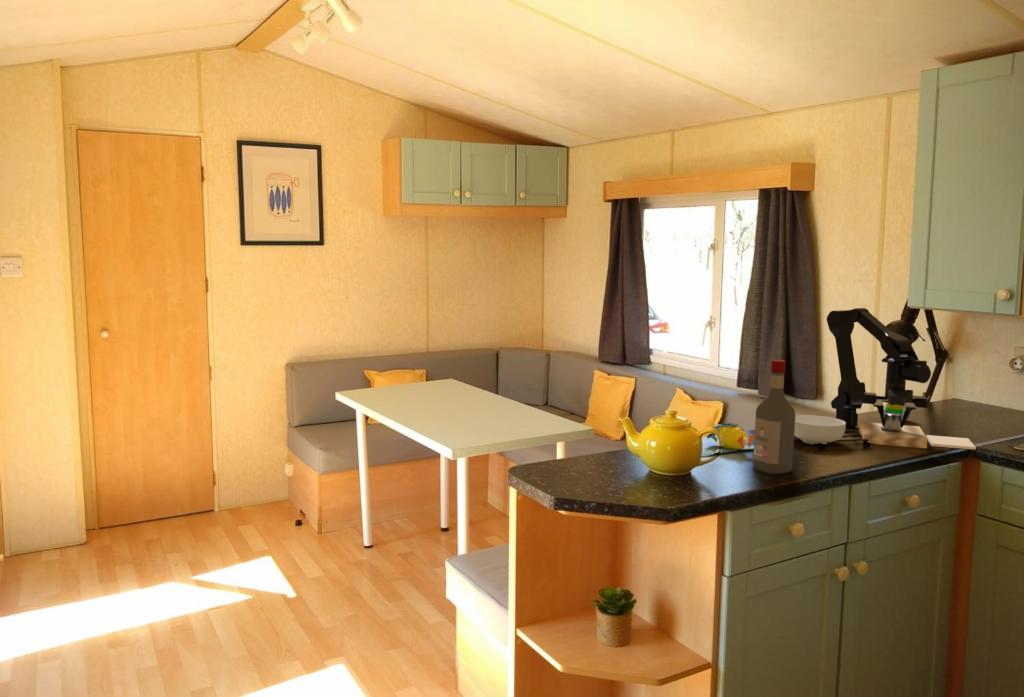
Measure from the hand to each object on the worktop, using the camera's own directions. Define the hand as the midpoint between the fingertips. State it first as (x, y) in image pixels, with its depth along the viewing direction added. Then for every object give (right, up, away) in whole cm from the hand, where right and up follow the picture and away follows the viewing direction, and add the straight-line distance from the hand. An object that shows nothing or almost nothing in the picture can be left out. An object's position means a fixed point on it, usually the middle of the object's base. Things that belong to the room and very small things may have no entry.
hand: (892, 426), depth 270 cm
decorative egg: (+15, -1, +29) cm, 33 cm away
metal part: (0, -4, +1) cm, 4 cm away
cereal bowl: (-26, -5, -5) cm, 27 cm away
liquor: (-49, -8, -37) cm, 62 cm away
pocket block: (0, -4, +1) cm, 4 cm away
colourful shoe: (-55, -6, -16) cm, 58 cm away
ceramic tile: (+16, -5, -4) cm, 17 cm away
